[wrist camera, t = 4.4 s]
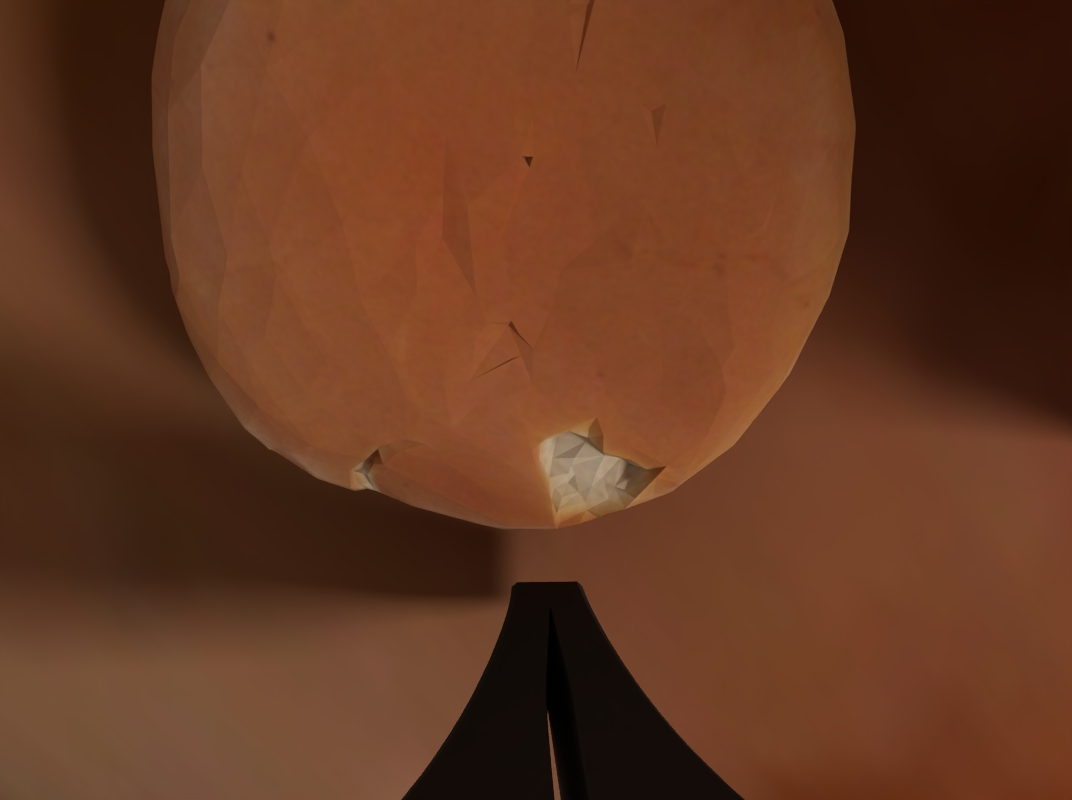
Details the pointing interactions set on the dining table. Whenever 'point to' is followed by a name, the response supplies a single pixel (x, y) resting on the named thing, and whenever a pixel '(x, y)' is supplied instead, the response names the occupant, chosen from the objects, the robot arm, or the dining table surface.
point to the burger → (501, 233)
